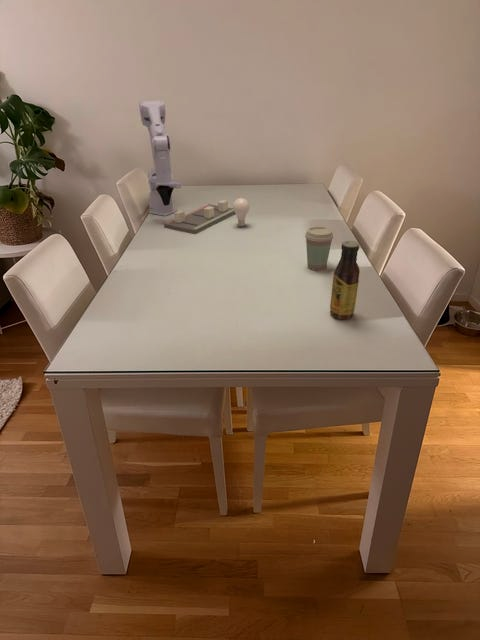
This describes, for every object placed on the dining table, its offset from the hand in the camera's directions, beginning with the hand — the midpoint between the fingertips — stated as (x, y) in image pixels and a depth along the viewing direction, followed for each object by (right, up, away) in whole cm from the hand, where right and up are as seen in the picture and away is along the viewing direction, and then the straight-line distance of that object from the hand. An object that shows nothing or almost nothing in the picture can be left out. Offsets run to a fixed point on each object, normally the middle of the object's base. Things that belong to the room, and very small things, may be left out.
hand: (166, 204), depth 182 cm
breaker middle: (+17, -4, +4) cm, 17 cm away
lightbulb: (+29, -9, -1) cm, 31 cm away
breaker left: (+22, 0, +11) cm, 25 cm away
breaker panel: (+14, -4, +6) cm, 16 cm away
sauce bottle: (+55, -44, -62) cm, 94 cm away
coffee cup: (+53, -29, -35) cm, 70 cm away
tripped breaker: (+5, -6, 0) cm, 8 cm away
